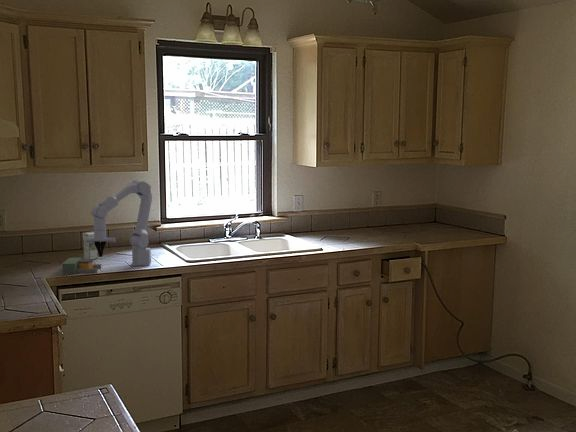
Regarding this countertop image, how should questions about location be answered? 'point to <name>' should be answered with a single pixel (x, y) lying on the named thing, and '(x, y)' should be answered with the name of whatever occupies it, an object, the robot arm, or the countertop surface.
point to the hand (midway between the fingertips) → (100, 256)
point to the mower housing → (77, 267)
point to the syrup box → (89, 247)
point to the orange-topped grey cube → (86, 263)
